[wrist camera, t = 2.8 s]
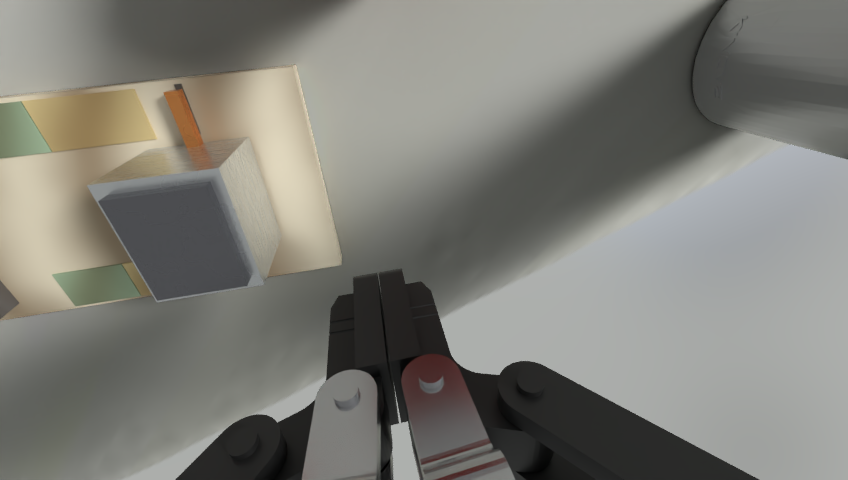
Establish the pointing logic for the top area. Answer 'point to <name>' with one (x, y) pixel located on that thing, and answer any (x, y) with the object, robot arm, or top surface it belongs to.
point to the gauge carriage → (192, 213)
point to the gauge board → (120, 142)
